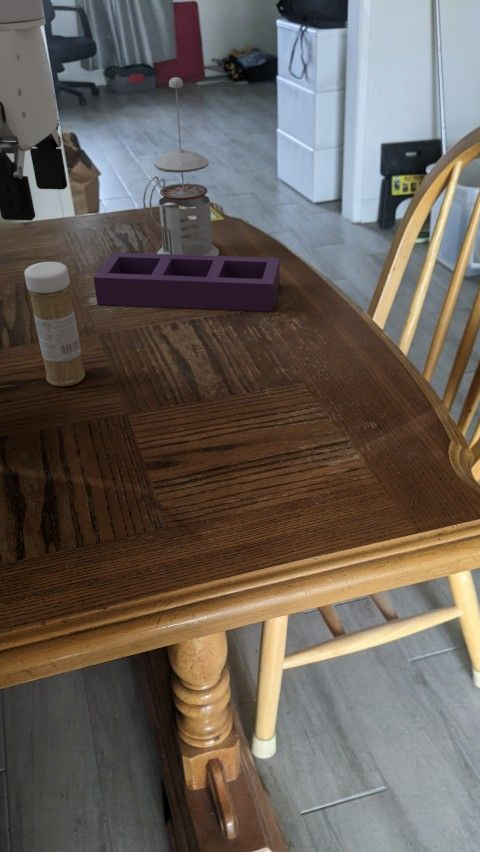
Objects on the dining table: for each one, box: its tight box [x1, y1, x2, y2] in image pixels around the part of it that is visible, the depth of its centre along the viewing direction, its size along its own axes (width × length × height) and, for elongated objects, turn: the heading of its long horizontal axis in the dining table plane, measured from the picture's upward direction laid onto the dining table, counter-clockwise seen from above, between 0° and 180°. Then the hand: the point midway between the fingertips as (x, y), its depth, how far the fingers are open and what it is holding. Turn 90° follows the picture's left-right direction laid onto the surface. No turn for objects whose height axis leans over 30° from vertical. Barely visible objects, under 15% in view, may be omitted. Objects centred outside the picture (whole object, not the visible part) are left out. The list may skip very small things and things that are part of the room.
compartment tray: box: [93, 251, 281, 313], centre depth 109 cm, size 9×24×4 cm, turn 84°
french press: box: [142, 76, 220, 256], centre depth 115 cm, size 10×12×25 cm
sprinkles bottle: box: [23, 261, 86, 387], centre depth 87 cm, size 5×5×14 cm
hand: (36, 203), depth 79 cm, fingers open, 9 cm apart
